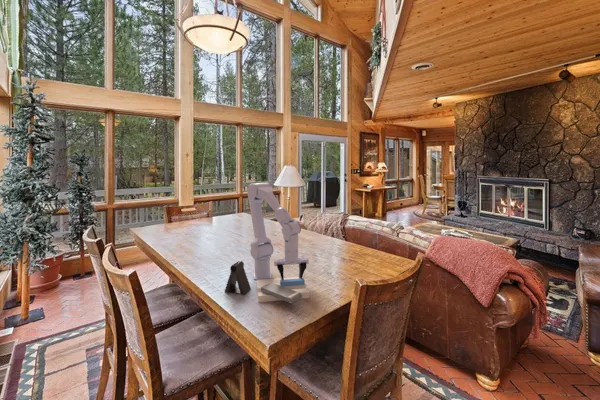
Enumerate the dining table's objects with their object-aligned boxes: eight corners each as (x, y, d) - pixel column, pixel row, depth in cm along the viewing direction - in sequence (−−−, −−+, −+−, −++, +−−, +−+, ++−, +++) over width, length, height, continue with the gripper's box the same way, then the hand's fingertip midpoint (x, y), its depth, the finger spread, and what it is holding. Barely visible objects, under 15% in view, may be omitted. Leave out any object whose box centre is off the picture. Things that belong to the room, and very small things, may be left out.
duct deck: (256, 285, 126) (256, 279, 126) (301, 281, 130) (301, 276, 130) (258, 302, 111) (258, 296, 111) (309, 297, 114) (309, 291, 114)
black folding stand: (250, 289, 123) (250, 261, 121) (244, 295, 117) (243, 266, 116) (231, 286, 125) (231, 259, 124) (224, 292, 120) (223, 264, 118)
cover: (270, 285, 119) (270, 281, 119) (301, 297, 108) (301, 293, 108) (259, 290, 114) (259, 286, 114) (291, 303, 104) (291, 298, 104)
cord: (280, 284, 121) (280, 279, 121) (303, 282, 123) (303, 278, 123) (280, 286, 119) (280, 282, 119) (304, 284, 121) (304, 280, 120)
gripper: (275, 253, 116) (275, 285, 118) (310, 251, 119) (310, 283, 121) (273, 248, 123) (273, 279, 125) (306, 246, 126) (306, 276, 128)
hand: (291, 280), depth 123 cm, fingers open, 7 cm apart
